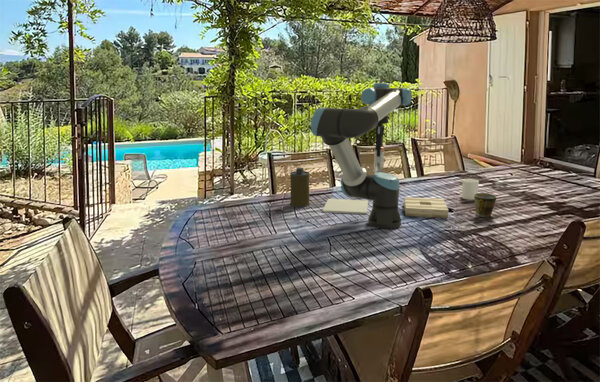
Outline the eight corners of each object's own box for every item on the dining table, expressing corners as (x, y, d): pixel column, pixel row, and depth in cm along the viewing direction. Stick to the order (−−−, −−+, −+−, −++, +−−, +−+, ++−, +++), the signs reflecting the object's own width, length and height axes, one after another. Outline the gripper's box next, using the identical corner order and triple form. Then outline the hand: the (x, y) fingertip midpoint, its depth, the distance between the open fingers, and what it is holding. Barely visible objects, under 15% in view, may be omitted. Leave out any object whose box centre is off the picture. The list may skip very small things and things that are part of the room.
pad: (366, 214, 221) (366, 212, 220) (322, 212, 225) (322, 210, 224) (368, 202, 242) (368, 200, 241) (328, 200, 246) (328, 198, 245)
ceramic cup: (476, 211, 225) (478, 192, 222) (497, 214, 219) (499, 195, 216) (467, 217, 215) (469, 197, 213) (488, 221, 209) (491, 201, 206)
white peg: (382, 173, 223) (383, 148, 219) (373, 173, 224) (374, 147, 221) (383, 171, 227) (384, 146, 224) (374, 171, 228) (375, 146, 225)
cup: (463, 199, 245) (465, 182, 242) (457, 194, 256) (459, 177, 254) (479, 200, 244) (480, 182, 242) (472, 194, 256) (474, 177, 253)
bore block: (447, 217, 214) (448, 210, 213) (405, 215, 218) (405, 208, 217) (442, 206, 233) (443, 198, 232) (404, 204, 237) (404, 197, 236)
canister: (307, 207, 233) (307, 170, 228) (288, 206, 235) (287, 169, 230) (311, 202, 243) (311, 166, 238) (292, 201, 245) (292, 165, 240)
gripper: (386, 116, 209) (384, 165, 215) (389, 113, 226) (387, 158, 232) (370, 116, 211) (369, 164, 217) (374, 113, 227) (373, 158, 233)
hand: (378, 161), depth 224 cm, fingers closed on white peg, 5 cm apart
